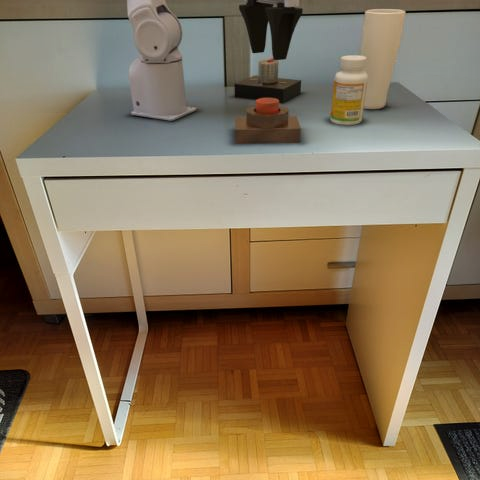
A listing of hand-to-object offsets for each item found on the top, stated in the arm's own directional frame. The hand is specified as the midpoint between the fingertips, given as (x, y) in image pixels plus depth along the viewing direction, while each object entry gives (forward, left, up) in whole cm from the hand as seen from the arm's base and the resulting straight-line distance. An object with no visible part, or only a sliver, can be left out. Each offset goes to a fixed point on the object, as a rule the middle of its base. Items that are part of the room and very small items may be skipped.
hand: (268, 56), depth 76 cm
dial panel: (-7, +13, -9) cm, 17 cm away
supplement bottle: (+14, +3, -10) cm, 17 cm away
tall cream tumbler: (+15, +14, -10) cm, 22 cm away
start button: (+6, -11, -6) cm, 14 cm away
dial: (-6, +13, -7) cm, 16 cm away
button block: (+5, -11, -9) cm, 16 cm away
